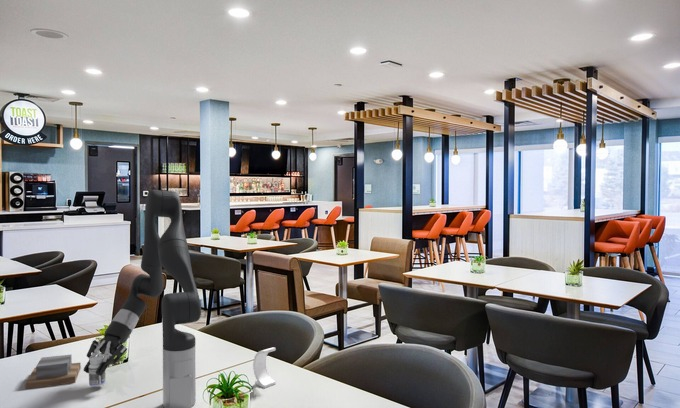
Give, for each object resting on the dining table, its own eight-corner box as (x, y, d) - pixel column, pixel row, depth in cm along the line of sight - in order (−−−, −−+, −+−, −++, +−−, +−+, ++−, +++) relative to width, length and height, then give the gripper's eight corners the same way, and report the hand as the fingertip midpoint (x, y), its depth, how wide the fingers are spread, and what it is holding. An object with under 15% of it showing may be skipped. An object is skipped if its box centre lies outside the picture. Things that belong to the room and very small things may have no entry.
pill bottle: (101, 379, 158) (101, 354, 158) (108, 383, 155) (107, 357, 155) (86, 384, 155) (85, 358, 154) (92, 388, 152) (92, 361, 151)
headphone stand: (264, 388, 155) (264, 351, 155) (253, 382, 160) (253, 347, 159) (275, 384, 159) (275, 347, 158) (264, 379, 163) (264, 343, 163)
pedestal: (75, 382, 159) (75, 364, 159) (25, 388, 154) (25, 370, 154) (80, 368, 172) (80, 351, 172) (34, 373, 167) (34, 356, 167)
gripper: (100, 317, 164) (68, 364, 153) (131, 322, 159) (100, 371, 148) (113, 329, 169) (83, 375, 158) (144, 334, 164) (115, 382, 153)
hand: (92, 373), depth 153 cm, fingers closed on pill bottle, 4 cm apart
